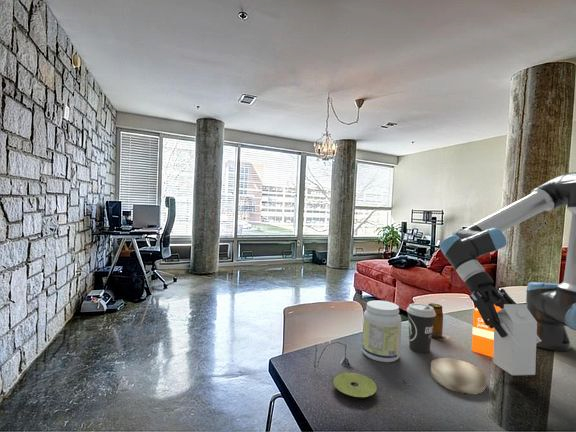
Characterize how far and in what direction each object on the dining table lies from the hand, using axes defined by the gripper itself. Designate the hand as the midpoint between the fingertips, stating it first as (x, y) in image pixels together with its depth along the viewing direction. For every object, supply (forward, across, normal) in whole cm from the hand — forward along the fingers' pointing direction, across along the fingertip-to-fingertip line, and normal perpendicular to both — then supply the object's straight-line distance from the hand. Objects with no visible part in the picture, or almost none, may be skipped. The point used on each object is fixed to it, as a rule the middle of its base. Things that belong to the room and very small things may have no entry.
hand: (526, 345), depth 86 cm
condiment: (-16, -5, -33) cm, 37 cm away
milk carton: (+4, 0, -8) cm, 9 cm away
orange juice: (-5, -12, -22) cm, 26 cm away
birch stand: (+2, +16, -14) cm, 21 cm away
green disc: (-2, +47, -18) cm, 51 cm away
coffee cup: (-12, +11, -28) cm, 32 cm away
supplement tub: (-12, +27, -28) cm, 41 cm away
